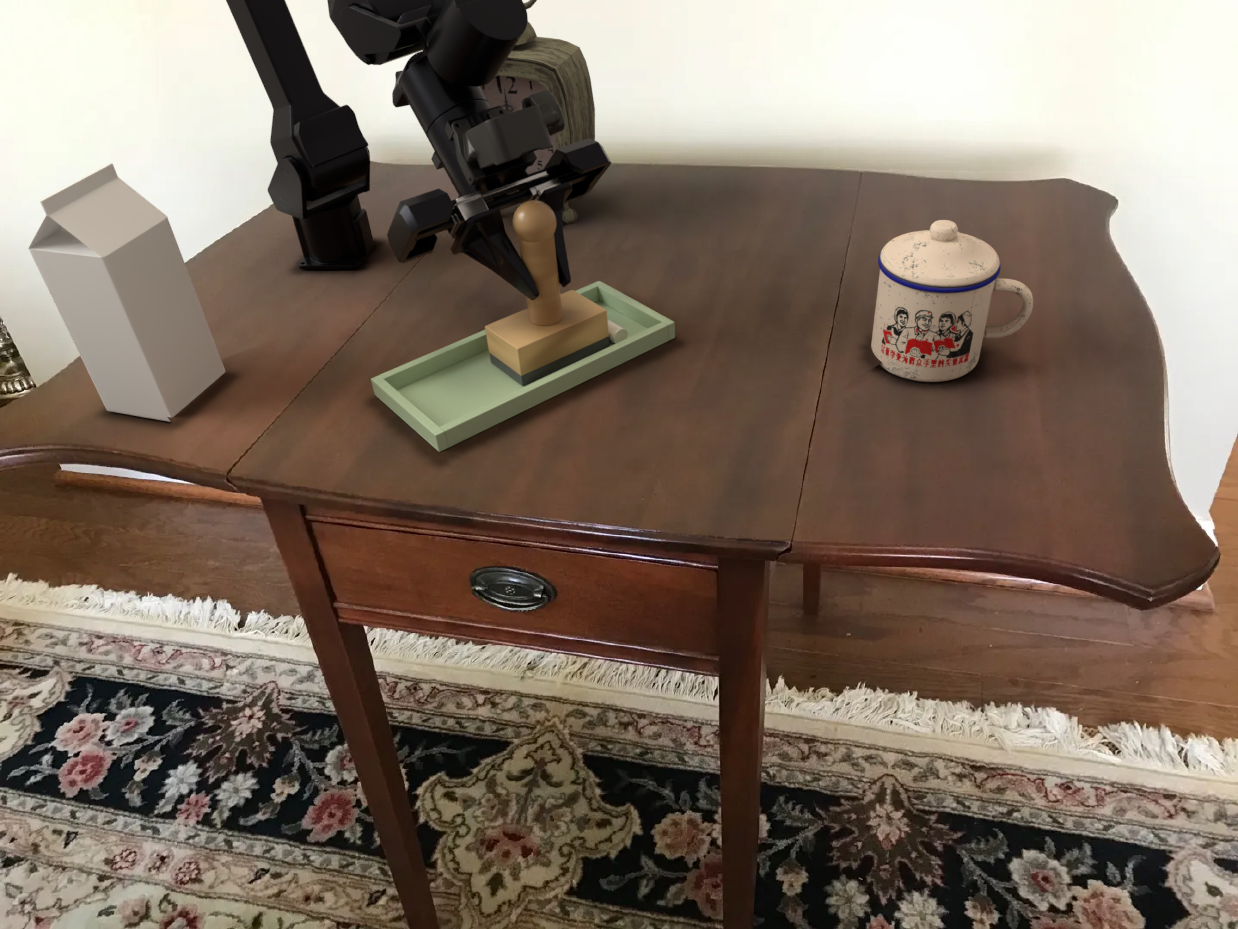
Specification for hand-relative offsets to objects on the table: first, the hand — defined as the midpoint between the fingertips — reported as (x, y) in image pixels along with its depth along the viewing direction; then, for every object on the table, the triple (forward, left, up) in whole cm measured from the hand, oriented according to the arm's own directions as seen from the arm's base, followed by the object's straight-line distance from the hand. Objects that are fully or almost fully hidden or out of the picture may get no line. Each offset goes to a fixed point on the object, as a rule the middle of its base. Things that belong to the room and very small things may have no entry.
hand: (551, 291), depth 77 cm
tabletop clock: (-8, +32, -8) cm, 34 cm away
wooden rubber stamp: (-1, +1, -7) cm, 7 cm away
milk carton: (-33, -5, -8) cm, 35 cm away
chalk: (+3, +5, -6) cm, 9 cm away
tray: (-3, -1, -7) cm, 8 cm away
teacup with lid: (+32, +2, -8) cm, 33 cm away
